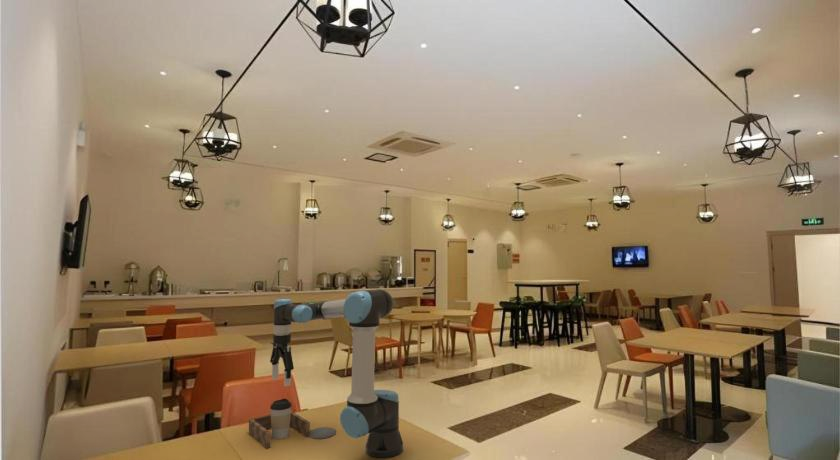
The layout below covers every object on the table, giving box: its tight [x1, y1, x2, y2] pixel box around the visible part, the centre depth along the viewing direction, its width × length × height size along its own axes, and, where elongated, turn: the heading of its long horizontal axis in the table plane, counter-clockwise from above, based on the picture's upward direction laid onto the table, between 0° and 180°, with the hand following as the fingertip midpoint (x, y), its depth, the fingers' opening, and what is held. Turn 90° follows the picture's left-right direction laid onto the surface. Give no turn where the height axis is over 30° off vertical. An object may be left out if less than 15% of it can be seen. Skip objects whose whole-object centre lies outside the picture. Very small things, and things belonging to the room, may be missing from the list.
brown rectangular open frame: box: [248, 410, 311, 450], centre depth 189 cm, size 22×19×6 cm
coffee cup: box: [269, 398, 293, 440], centre depth 188 cm, size 9×9×15 cm
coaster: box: [308, 426, 337, 440], centre depth 190 cm, size 12×12×1 cm
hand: (281, 382), depth 189 cm, fingers open, 13 cm apart
